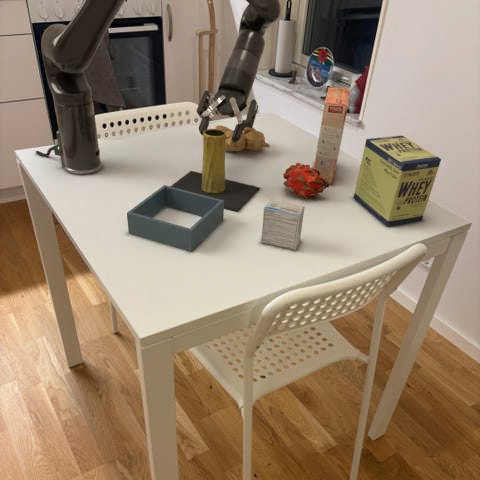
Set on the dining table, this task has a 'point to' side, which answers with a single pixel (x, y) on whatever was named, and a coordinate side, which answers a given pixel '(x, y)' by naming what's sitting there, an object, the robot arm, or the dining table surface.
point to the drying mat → (232, 195)
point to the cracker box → (331, 132)
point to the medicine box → (282, 224)
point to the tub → (171, 233)
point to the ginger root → (244, 140)
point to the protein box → (395, 179)
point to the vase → (213, 161)
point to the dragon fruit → (304, 180)
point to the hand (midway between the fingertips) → (217, 137)
